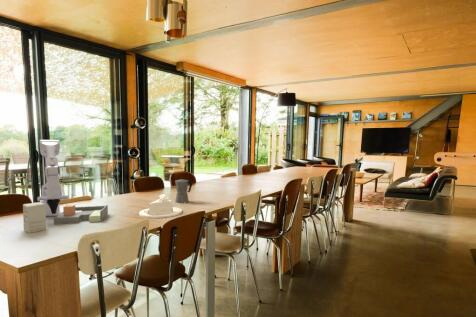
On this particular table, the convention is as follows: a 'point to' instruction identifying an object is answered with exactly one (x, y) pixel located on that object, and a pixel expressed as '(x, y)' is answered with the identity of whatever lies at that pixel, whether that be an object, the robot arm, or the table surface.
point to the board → (83, 215)
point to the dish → (161, 208)
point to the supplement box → (34, 217)
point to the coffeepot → (182, 190)
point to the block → (69, 210)
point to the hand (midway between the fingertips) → (53, 213)
